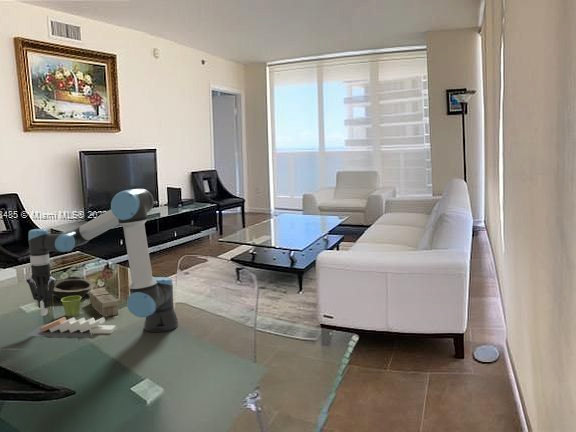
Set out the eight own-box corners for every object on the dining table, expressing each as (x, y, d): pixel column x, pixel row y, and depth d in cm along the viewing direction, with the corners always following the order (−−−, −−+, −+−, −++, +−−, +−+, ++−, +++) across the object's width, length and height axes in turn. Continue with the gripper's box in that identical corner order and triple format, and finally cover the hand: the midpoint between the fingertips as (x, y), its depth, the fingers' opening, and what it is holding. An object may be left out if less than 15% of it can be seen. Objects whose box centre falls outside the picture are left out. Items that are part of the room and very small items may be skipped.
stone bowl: (47, 293, 272) (48, 277, 272) (94, 290, 283) (94, 275, 282) (46, 304, 250) (46, 287, 249) (96, 301, 261) (97, 285, 260)
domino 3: (66, 328, 215) (85, 320, 214) (60, 332, 210) (80, 324, 209) (65, 325, 215) (84, 317, 214) (59, 329, 210) (78, 320, 209)
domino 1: (47, 328, 216) (66, 320, 215) (41, 332, 211) (60, 324, 210) (46, 324, 216) (64, 316, 215) (39, 328, 211) (58, 320, 210)
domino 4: (76, 328, 215) (95, 320, 214) (70, 332, 210) (90, 324, 209) (74, 325, 215) (93, 317, 214) (68, 329, 210) (88, 321, 209)
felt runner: (105, 326, 219) (105, 325, 219) (90, 338, 205) (90, 337, 205) (42, 325, 221) (42, 324, 221) (24, 337, 207) (24, 336, 207)
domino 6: (95, 329, 215) (116, 329, 214) (89, 333, 210) (111, 333, 209) (94, 325, 214) (116, 325, 214) (89, 329, 209) (111, 329, 209)
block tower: (89, 305, 254) (102, 318, 230) (88, 290, 253) (101, 301, 229) (104, 302, 258) (119, 315, 234) (103, 287, 257) (118, 298, 233)
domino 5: (86, 328, 215) (105, 320, 214) (81, 332, 210) (100, 324, 209) (84, 325, 215) (103, 317, 214) (79, 329, 210) (98, 320, 209)
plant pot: (77, 318, 230) (76, 301, 229) (58, 318, 230) (57, 301, 229) (86, 312, 239) (84, 295, 238) (67, 312, 240) (66, 295, 238)
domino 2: (57, 328, 216) (75, 320, 215) (51, 332, 211) (70, 324, 210) (55, 325, 216) (74, 316, 214) (49, 329, 211) (68, 320, 209)
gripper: (59, 261, 213) (62, 312, 216) (31, 261, 214) (35, 311, 217) (49, 265, 205) (53, 317, 208) (20, 265, 206) (25, 317, 209)
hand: (44, 314), depth 212 cm, fingers closed
